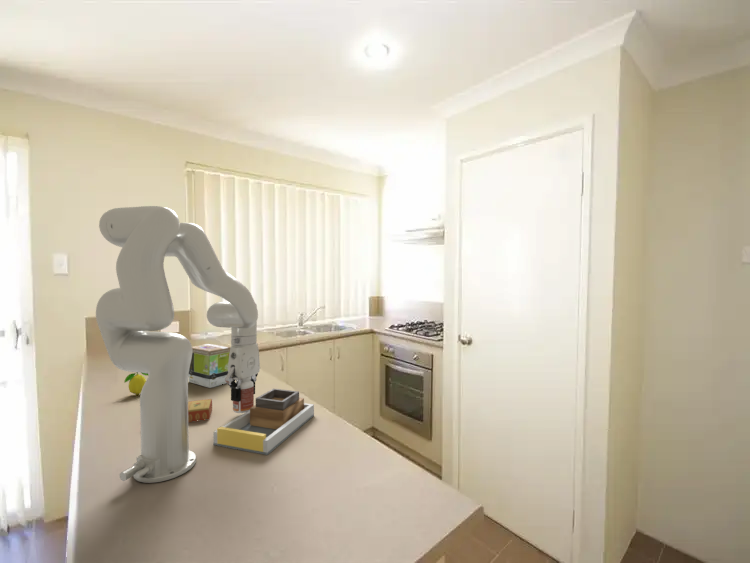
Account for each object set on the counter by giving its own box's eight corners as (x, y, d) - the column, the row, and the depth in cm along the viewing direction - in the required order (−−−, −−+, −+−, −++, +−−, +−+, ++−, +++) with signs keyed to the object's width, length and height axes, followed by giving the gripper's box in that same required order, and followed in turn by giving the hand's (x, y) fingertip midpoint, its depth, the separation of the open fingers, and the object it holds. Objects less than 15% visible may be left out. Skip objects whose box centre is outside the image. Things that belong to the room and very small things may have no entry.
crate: (283, 430, 99) (283, 404, 99) (250, 425, 103) (249, 399, 102) (303, 413, 111) (303, 390, 111) (273, 409, 114) (273, 386, 114)
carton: (209, 421, 108) (209, 407, 108) (149, 428, 103) (148, 414, 103) (212, 410, 116) (212, 397, 116) (156, 417, 111) (156, 403, 111)
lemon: (152, 392, 132) (152, 366, 132) (140, 398, 126) (140, 370, 126) (136, 391, 133) (135, 365, 133) (123, 397, 127) (123, 369, 127)
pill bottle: (256, 406, 114) (256, 372, 114) (250, 413, 108) (250, 377, 108) (236, 406, 114) (237, 372, 114) (229, 413, 108) (230, 377, 108)
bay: (267, 455, 88) (267, 436, 88) (213, 445, 93) (213, 427, 92) (313, 415, 112) (313, 401, 111) (269, 409, 116) (269, 395, 116)
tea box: (231, 382, 145) (231, 346, 144) (209, 389, 136) (208, 351, 136) (210, 376, 153) (209, 342, 152) (187, 382, 144) (187, 346, 144)
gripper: (235, 345, 102) (234, 408, 102) (270, 337, 118) (269, 390, 118) (214, 344, 104) (213, 405, 104) (251, 335, 120) (250, 388, 120)
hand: (243, 396), depth 111 cm, fingers closed on pill bottle, 6 cm apart
